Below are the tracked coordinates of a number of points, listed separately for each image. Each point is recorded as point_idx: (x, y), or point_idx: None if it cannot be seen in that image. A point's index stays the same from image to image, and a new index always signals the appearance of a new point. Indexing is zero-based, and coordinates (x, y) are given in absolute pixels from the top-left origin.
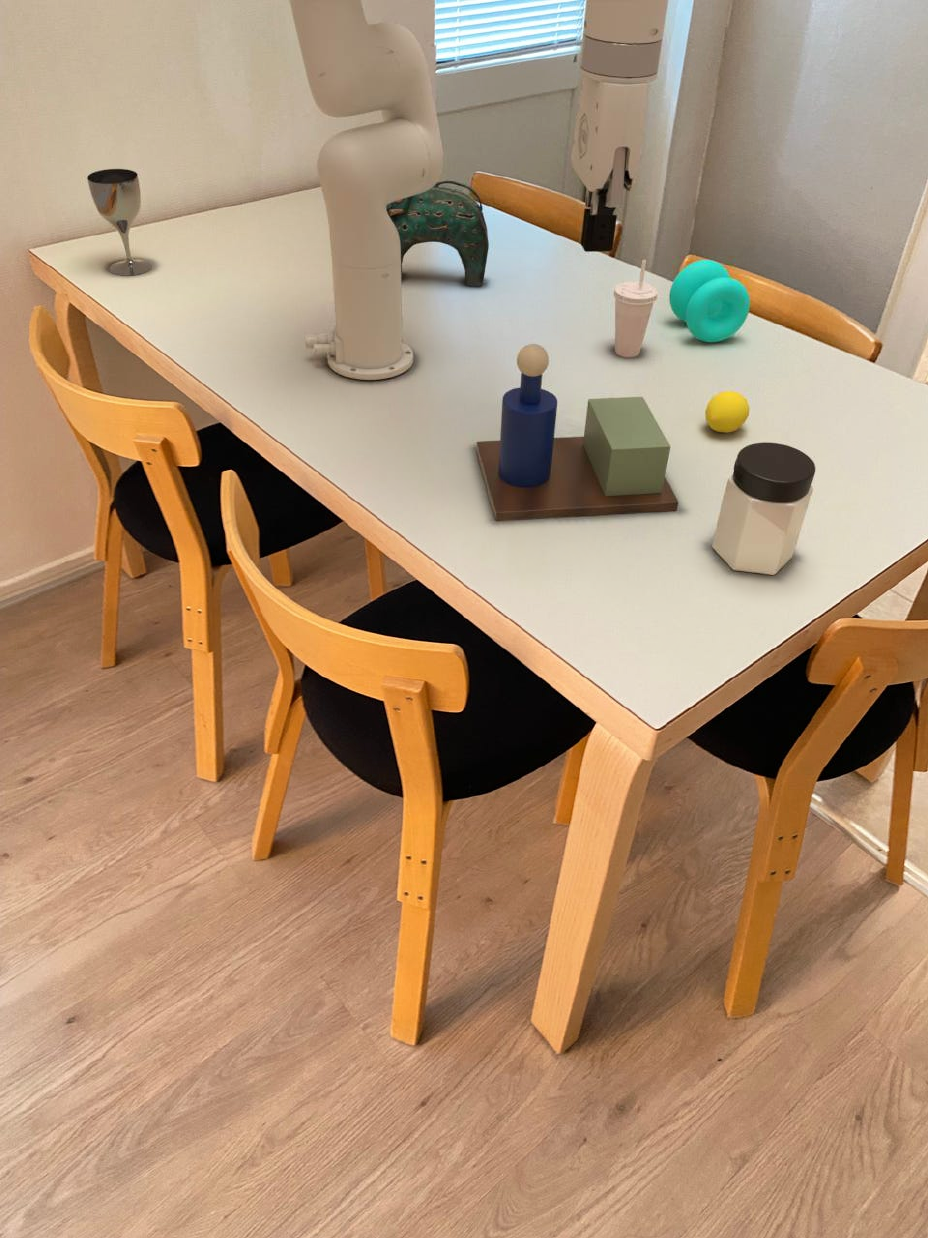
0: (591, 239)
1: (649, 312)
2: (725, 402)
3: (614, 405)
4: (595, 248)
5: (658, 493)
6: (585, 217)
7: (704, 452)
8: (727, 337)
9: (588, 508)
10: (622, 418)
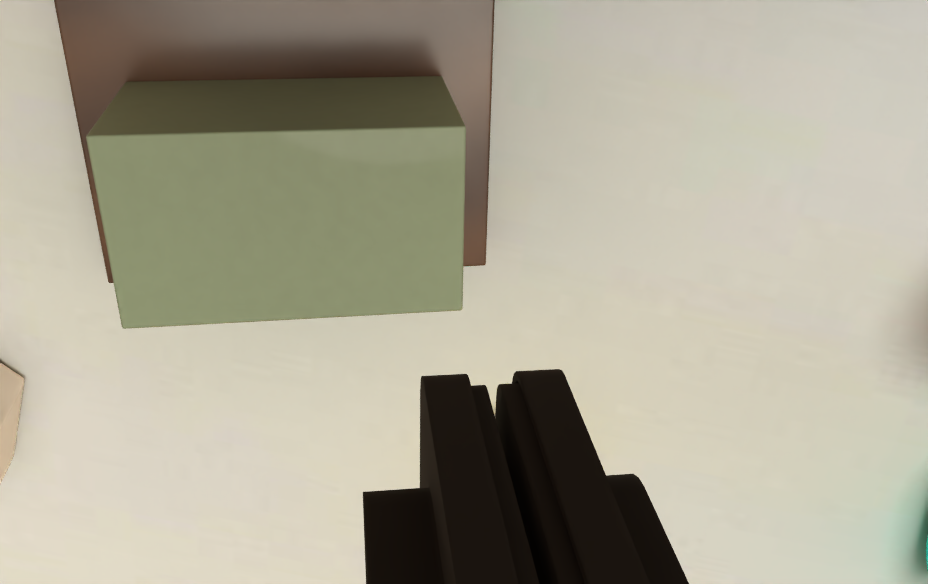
0: (432, 490)
1: None
2: None
3: (408, 208)
4: (423, 471)
5: None
6: (582, 578)
7: (407, 396)
8: (926, 560)
9: (56, 12)
10: (313, 216)
